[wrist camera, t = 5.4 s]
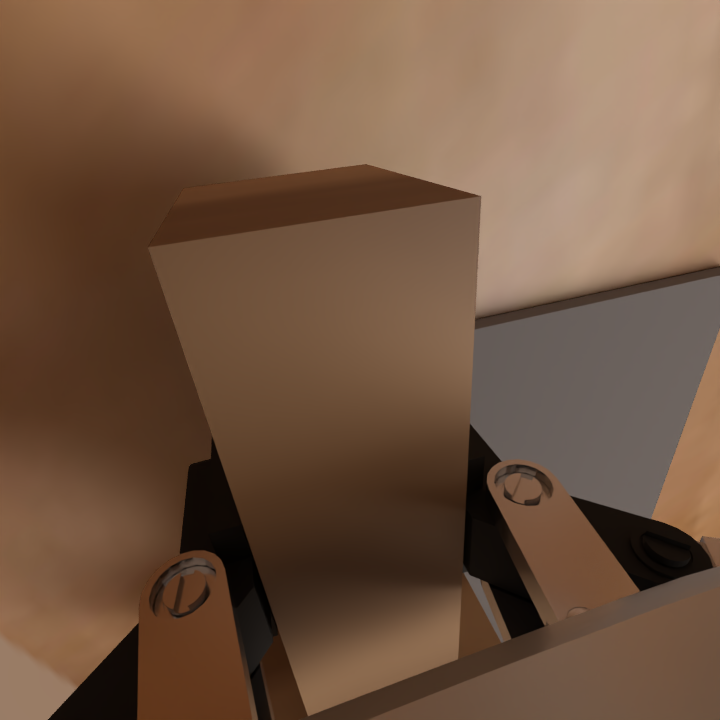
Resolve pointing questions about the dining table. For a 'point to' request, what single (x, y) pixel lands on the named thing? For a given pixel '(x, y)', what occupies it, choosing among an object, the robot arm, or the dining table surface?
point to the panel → (596, 387)
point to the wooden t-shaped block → (338, 411)
